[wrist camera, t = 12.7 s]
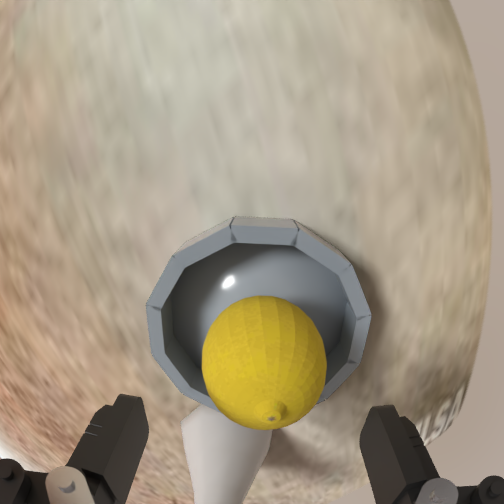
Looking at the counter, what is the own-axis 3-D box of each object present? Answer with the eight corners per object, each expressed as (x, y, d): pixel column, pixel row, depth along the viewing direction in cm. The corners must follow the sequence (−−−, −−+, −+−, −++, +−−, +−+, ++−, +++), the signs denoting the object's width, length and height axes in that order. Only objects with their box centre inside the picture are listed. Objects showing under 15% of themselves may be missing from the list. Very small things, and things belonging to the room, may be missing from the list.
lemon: (197, 345, 18) (176, 445, 10) (228, 260, 17) (219, 332, 9) (283, 370, 18) (306, 470, 11) (322, 293, 17) (376, 374, 9)
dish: (157, 214, 16) (140, 221, 14) (368, 224, 16) (385, 234, 14) (169, 384, 20) (160, 408, 17) (337, 392, 19) (345, 416, 17)
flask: (252, 466, 22) (249, 564, 12) (171, 443, 21) (143, 542, 12) (290, 417, 20) (301, 535, 11) (193, 388, 20) (160, 510, 10)
